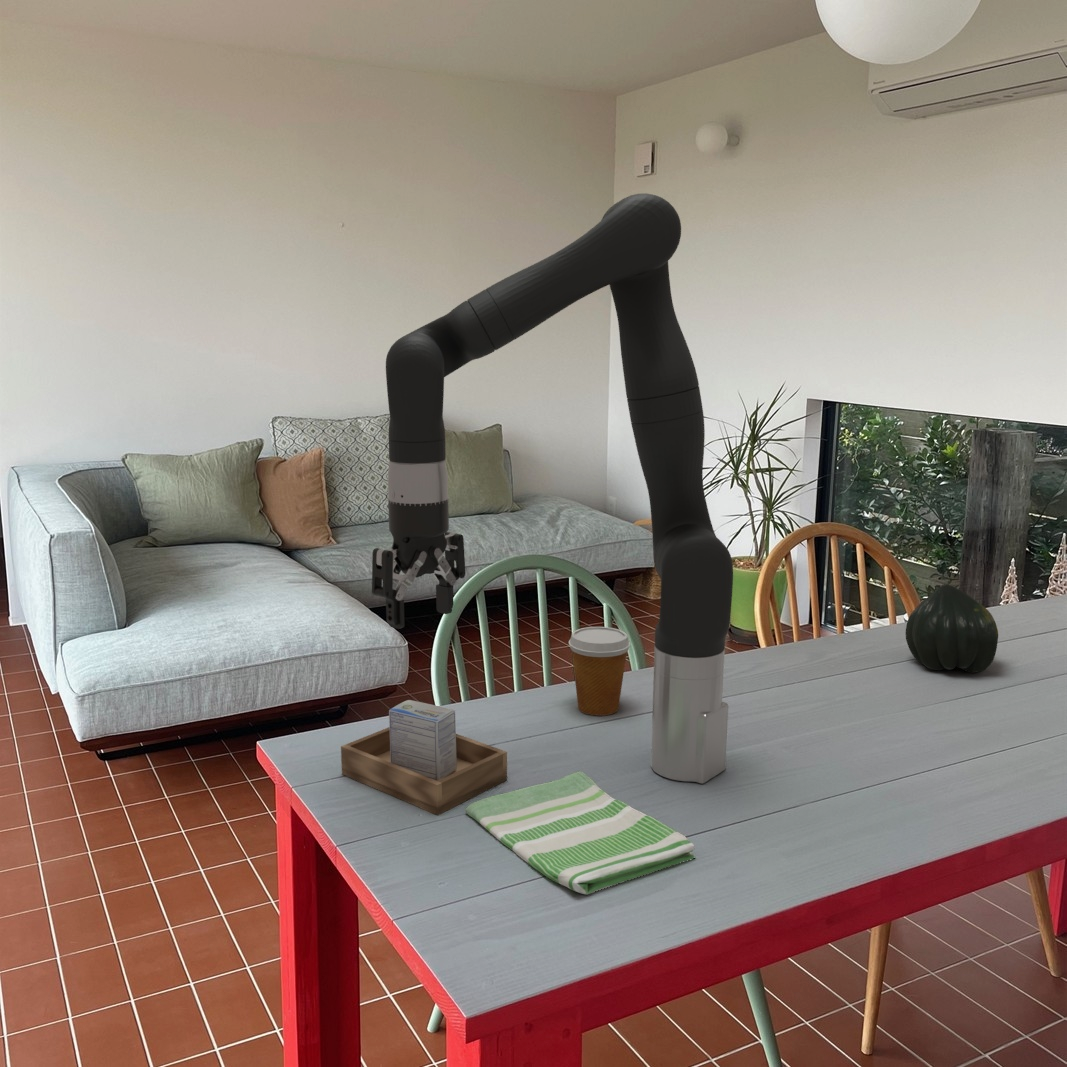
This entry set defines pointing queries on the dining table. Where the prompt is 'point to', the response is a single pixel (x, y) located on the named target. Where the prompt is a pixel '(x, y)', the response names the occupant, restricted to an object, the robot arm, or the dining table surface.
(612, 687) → the disposable coffee cup
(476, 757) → the tray
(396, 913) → the dining table surface
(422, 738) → the medicine box
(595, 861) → the dish towel
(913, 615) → the squash
